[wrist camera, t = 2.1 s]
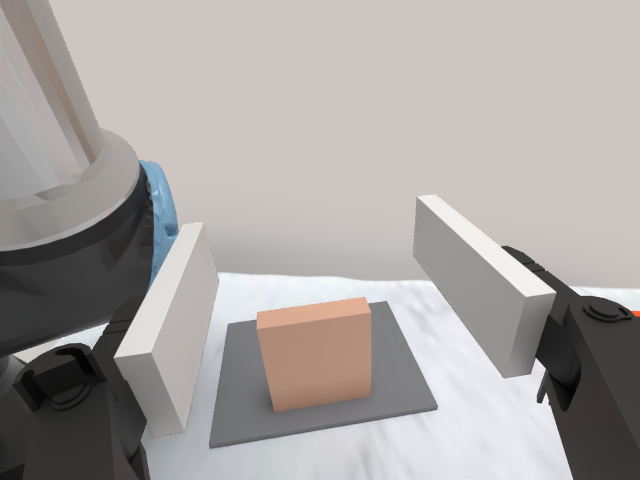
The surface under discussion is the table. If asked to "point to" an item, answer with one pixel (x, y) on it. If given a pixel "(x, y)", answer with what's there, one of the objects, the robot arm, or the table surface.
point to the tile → (316, 353)
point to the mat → (262, 422)
